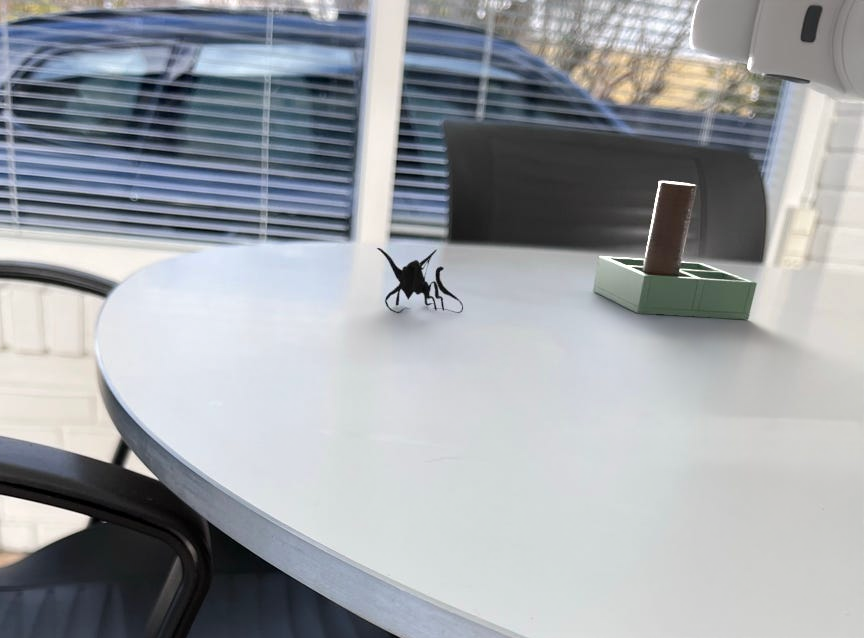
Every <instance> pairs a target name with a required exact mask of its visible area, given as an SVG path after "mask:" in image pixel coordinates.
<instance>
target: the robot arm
mask: <svg viewBox="0 0 864 638" xmlns="http://www.w3.org/2000/svg"><path fill="white" fill-rule="evenodd" d="M689 46H690V49H691V50H692V51H693V52H695V53H698V54H702V55H705V56H710V57H714V58H718V59H723V60H727V61H731V62H736V63H740V64H744V65H747V69H748V72H749V73H751V74H754V75H755V74H756V75H762V76H763V77H767V78H772V79H777V80H778V79H779V80H783V81H787V82H790V83H795V84H800V85H802V86H804V87H807V88H808V89H811V90H812V91H814V92H817V93H819V94H822V95H825V96H827V97H828V98H830V99H832V100H834V101H837V102H840V103H844V104H857V105H864V0H697V2H696V5H695V8H694V13H693V16H692V22H691V28H690V35H689Z"/></svg>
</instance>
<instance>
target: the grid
mask: <svg viewBox="0 0 864 638" xmlns="http://www.w3.org/2000/svg"><path fill="white" fill-rule="evenodd" d="M644 259H645V258H634V257H633V258H632V257H619V256H604V255H599V256H598V259H597V266H596V271H595V277H594V283H593V289H592V291H593V292H594V293H596V294H598V295H600V296H602V297H605V298H606V299H608V300H610V301H612V302H614V303H616V304H618V305H620V306H622V307H624V308H625V309H628V310H630V311H631V312H634V313H636V314H640V315H656V314H664V315H663V316H674V315H676V316H677V315H678V316H677V317H693V316H694V317H695V318H709V317H710V318H713V319H728V320H729V319H730V320H746V321H747V320H748V321H749V318H750V313H751V308H752V305H753V300H754V297H755V293H756V288H757V284H758V283H757V282H755V281H754V280H750V279H747V278H744V277H742V276H739V275H737V274H734V273H731V272H729V271H725V270H724V269H723V270H722V269H720V268H717V267H714V266H711V265H709V264H706V263H703V262H694V261H693V262H692V261H681V266H680V271H679V275H678V277H675V276H660V275H648V274H645V273H643V272H642V269H643V264H644ZM665 314H666V315H665Z"/></svg>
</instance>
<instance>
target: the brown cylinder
mask: <svg viewBox="0 0 864 638" xmlns="http://www.w3.org/2000/svg"><path fill="white" fill-rule="evenodd" d="M697 188H698V185H697V184H694V183H688V182H679V181H669V180H659V181H658V186H657V191H656V195H655V201H654V205H653V206H654V207H653V212H652V217H651V223H650V228H649V233H648V238H647V243H646V247H645V248H646V249H645V253H644V258H643V259H644V264H643V269H642V272H643V273H645V274H648V275H660V276H675V277H678V275H679V271H680V266H681V262H683V256H684V251H685V246H686V241H687V236H688V231H689V226H690V223H691V216H692V213H693V207H694V204H695V203H694V202H695V198H696V194H697Z"/></svg>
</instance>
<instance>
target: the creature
mask: <svg viewBox="0 0 864 638" xmlns="http://www.w3.org/2000/svg"><path fill="white" fill-rule="evenodd" d="M376 250H378V251H379V252H380V253H382V255H383V256H384V257H385V259H386V260H387V261H388V263H389V265H390V267H391V269H392V271H393V274H394V276H395V278H396V279H397V281H398V282H399V284H398V285H397V286H396V287H395V288H394V289H392V290H391V291H390V292H388V294H387V295H386V296H385V299H384V303H385V306H386V307H387V309H388V310H390V311H391V312H393V313H395V314H400V313H402V312H403V311H404V310H409V309H412V308H411V307H405V306H402V305H400V294H401V291H402V292H403V293H404V295H405V298H406V299H407V300H408V301H409V299H410V298H411V297H412V295H413V294H414V293H415V295H417V296H418V295H421V294H423V298H424V299H423V300H424V304H425V306H428V307H429V306H431V305H433V308H431V309H434V311H436V312H437V311H438V310H442V311H443V312H444V311H445V310H446V311H449V312H451V313H455V314H460V313H462V312H463V310H464V305H463V303H462V301H461V300H460V298H458V297H457V296H456V295H454V294H453V293H452V292H450V291H449V290H448V289H447V288H446V287H445V286H444V284H443V282H442V280H441V271H444V269H445V268H444V267H443V266H438V267H437V268H436V269H435V274H434V275H435V281H434V280H433V281H431V282H430V283H428V281H426V274H427V271H428V267H429V263H430V261H431V259H432V257H433V256H434V255H435V253H436V252H437V250H438V249H435V250H433V252H431V253H430V254H429V255H428V256H426V257H425V258H424V259H423V260H421V261H419V260H418V259H415V260H412V261H410V262H408V264H407V265H404V266H403V267H402V269H401V268H399V267H398V266H397V265H396V263H395V261H394V260H393V258H392V257H391V256H390V255H389V253H387V251H384V250H383V249H382V248H380V247H377V248H376ZM426 265H427V267H426ZM425 267H426V271H425V273H424V274H423V270H424V269H425ZM432 284H433V288H434V296H435V297H433V296H432V295H430V294H431V291H432V290H431V288H432ZM439 291H440V292H441V293H442V294H444V295H446V296H449V297H450V298H452V299H454V300H456V301H458V302H459V303H460V305H461V310H460V311H454V310H450V309H447V308H445V306H444V298H443V297H442V296H441V295H440V294H439ZM394 294H396V299H395V306H397V307H399V306H400V307H401V308H402V309H400V310H399V311H397V310H394V309H393V308H391V307H390V306H389V304H388V300H389V299H390V298H391V296H392V295H394ZM429 299H432V301H433V303H432V302H430V303H428V300H429ZM436 300H440V304H441V307H437V304H436ZM437 309H438V310H437Z"/></svg>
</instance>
